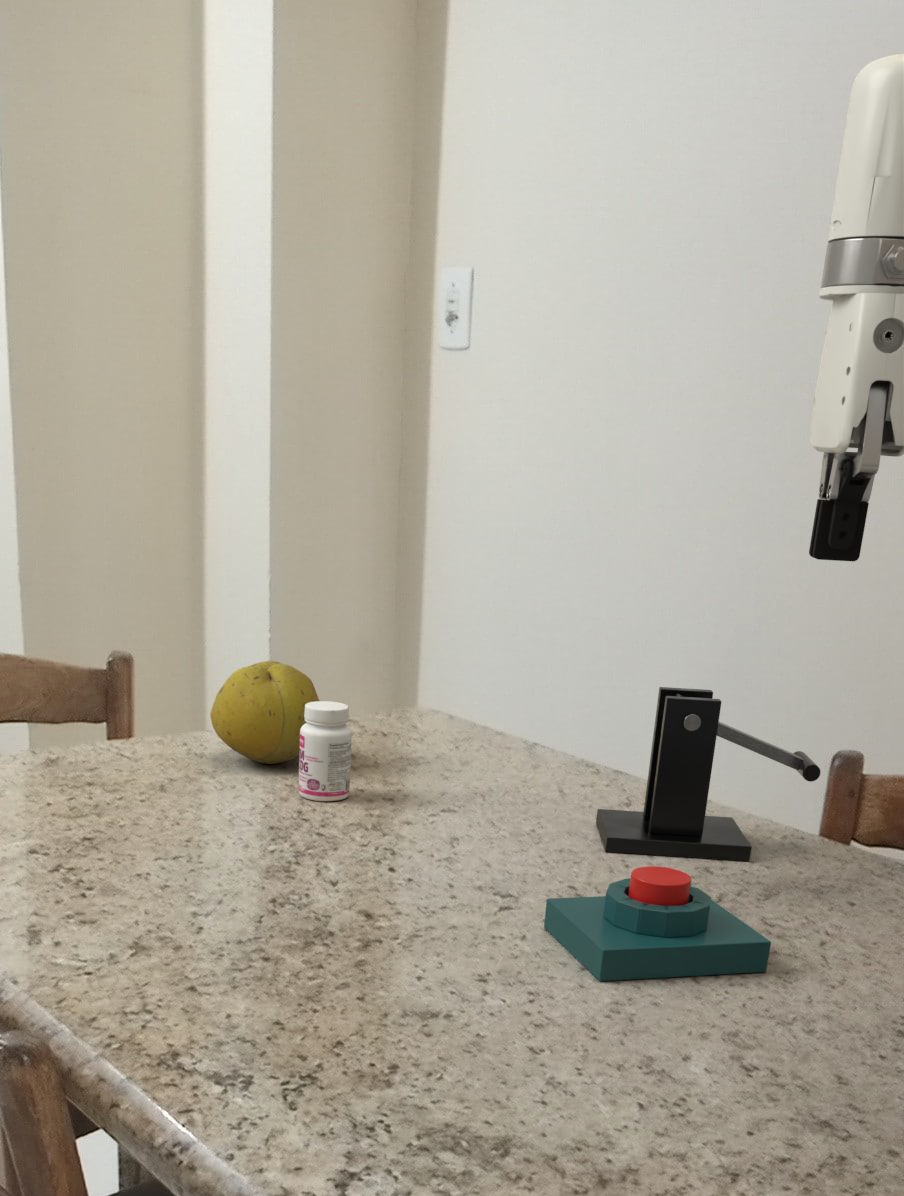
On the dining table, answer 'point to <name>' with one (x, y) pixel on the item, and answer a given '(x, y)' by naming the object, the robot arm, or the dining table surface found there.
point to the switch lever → (770, 751)
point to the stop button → (660, 886)
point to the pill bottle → (325, 752)
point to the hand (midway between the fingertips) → (833, 558)
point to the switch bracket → (678, 788)
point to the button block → (654, 936)
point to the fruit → (263, 711)
